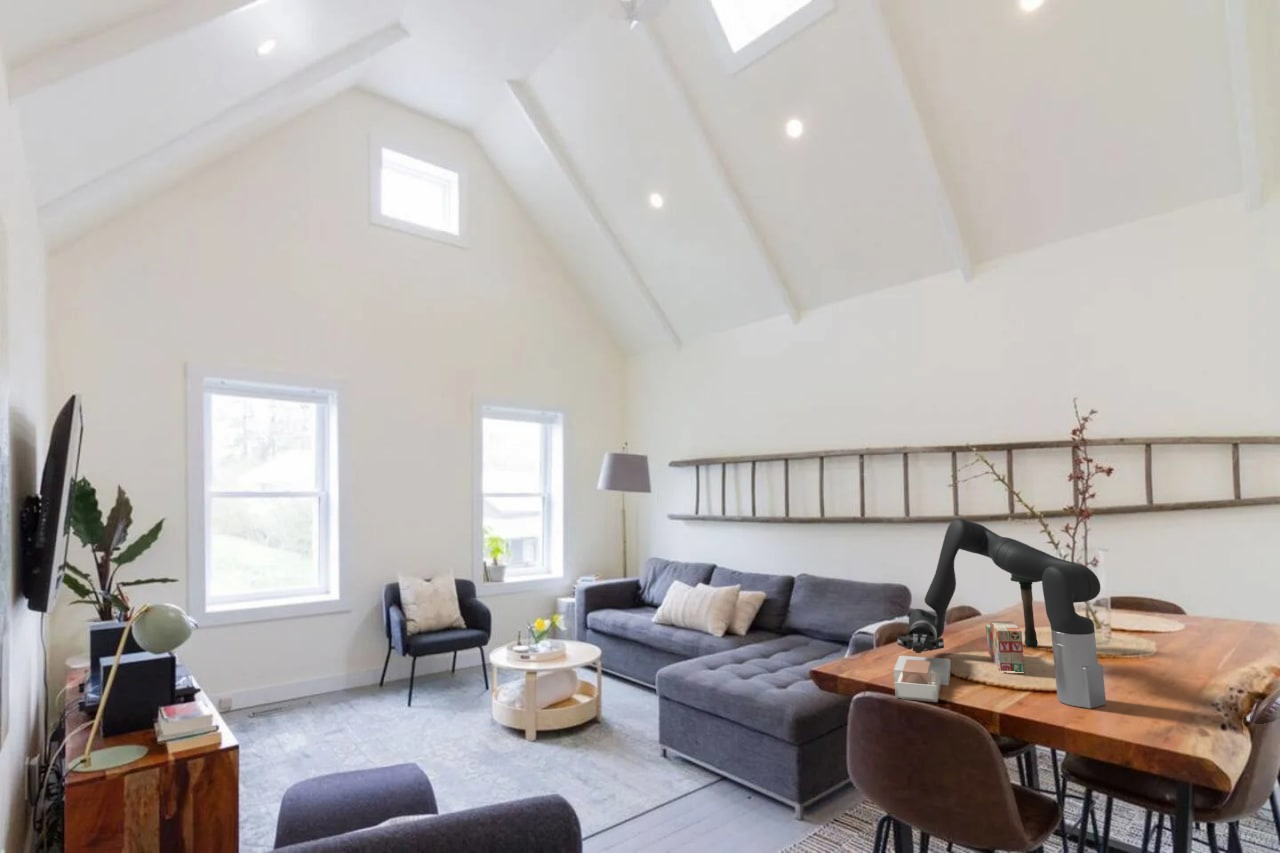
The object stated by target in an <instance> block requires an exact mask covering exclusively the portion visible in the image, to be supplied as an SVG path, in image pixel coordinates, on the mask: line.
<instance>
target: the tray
mask: <svg viewBox="0 0 1280 853" xmlns="http://www.w3.org/2000/svg"><path fill="white" fill-rule="evenodd" d="M941 686H942V685H941V682H940V675H937V676H936V681H935V682H932V685H929V684H917V683H905V682H903V672H901V673H900V676H899V679H898V681H894V693H895V694H894V695H895V699H898V698H901V699H900V700H911V701H919V702H920V701H922V702H929V703H931V702H932V703H938V702H939V697H940V692H939V691H941Z"/></svg>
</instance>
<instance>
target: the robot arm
mask: <svg viewBox="0 0 1280 853" xmlns="http://www.w3.org/2000/svg"><path fill="white" fill-rule="evenodd" d="M943 538H944V539H943V542H942V546H941V550H940V554H939V558H938V560H937V561H938V563H937V565H936V569H935V570H936V571H935V573H934V575H933V579H932V581H931V583H930V585H929V587H928V590H927V592H926V594H925V597H924V603H925V604H926V606H928V607H930V609H932V610H933V611H934V612H935V614H936V615H935V614H932V613H931V612H929V611H928V612H927V610H924V609H922V608H921V609H920V608H916V609H914V610H912V612H911V613H910V615H909V617H908V627H909V630H908V633H907V635H906V636H902V635H897V636H896V638H897V639H896V640H897V646H900V647H902V648H904V649H907V650H912V651H913V652H915V654H922V653H923V652H924V653H925V652H928V651H929V652H930V651H935V650H940V649H941V650H942V649H944V648H945V642H944V638H942V636H943V634H944V630H945V623H946V622H945V621H946V615H947V610H948V608H949V606H950V603H951V601H952V598H953V597H954V594H955V591H956V587H957V579H956V573H955V572H956V570H955V559H956V556H957V554H958V553H959V552H958V551H959V550H962V551H966V552H968V553H973V554H977V555H981V556H984V557H985V558H989V559H991V560H992V562H993V564H995V565H996V566H997V567H998V568H1000V569H1001V570H1002V571H1004V572H1007V573H1009V574H1010V575H1011V574H1013V575H1015V576H1018V577H1022V578H1026V579H1031V580H1037V581H1039V582H1041V585H1042V592H1043V598H1044V606H1045V612H1046V616H1047V618H1048V621H1049V624H1050V633H1051V643H1052V655H1053V663H1054V665H1053V666H1054V675H1055V677H1054V678H1055V686H1056V687H1055V688H1056V694H1057V696H1056V697H1057V700H1058V701H1059V702H1060V703H1063V704H1065V705H1068V706H1073V707H1078V708H1081V707H1082V708H1086V709H1094V708H1098V707H1101V706H1105V705H1107V699H1106V698H1107V697H1106V689H1105V680H1104V679H1105V678H1104V668H1103V665H1102V664H1101V663H1099V661H1098V653H1097V652H1098V651H1097V642H1096V641H1097V639H1096V632H1095V624H1094V623H1095V622H1094V621H1093V620H1092V619H1091V618H1089V617H1087V616H1082V615H1080V614H1078V613H1077V612H1076V608H1075V603H1076V604H1077V603H1083V602H1090V601H1092V600H1093V599H1095V598H1097V597H1098V596H1099V594H1100V592H1101V582H1100V580H1099V578H1098V576H1097V574H1095V573H1094V571H1092V569H1090V568H1089V567H1087V566H1085V565H1083V564H1081V563H1076V562H1073V561H1070V560H1066V559H1061V558H1058V557H1057V556H1054V555H1051V554H1050V553H1047V552H1045V551H1042V550H1040V549H1038V548H1035V547H1033V546H1031V545H1028V544H1026V543H1024V542H1022V541H1019V540H1016V539H1014V538H1011V537H1006V536H1001V535H999V534H997V533H995V532H993V531H992V530H990V529H989V528H987V527H986V526H984V525H982V524H980V523H976V522H973V521H970V520H967V519H963V518H955V519H953V520H952V521H951V522H950V523H949V525H948V526H947V529H946V531H945V535H944V537H943Z"/></svg>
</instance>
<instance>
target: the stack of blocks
mask: <svg viewBox="0 0 1280 853" xmlns="http://www.w3.org/2000/svg"><path fill="white" fill-rule="evenodd" d="M985 633H986V637H987V638H986V639H987V649H988V655H989V656H990V657H989V658H991V660H992V659H993V660H992V661H995V663H996V664H997V666H998V667H999V669H1000V670H1001V671H1015V672H1025V673H1026V670H1025V663H1024V661H1025V660H1024V646H1023V644H1024V643H1023V634H1022V630H1021V629H1020V627H1018V626H1017V624H1015V623H1014V621H1007V620H1006V621H1004V620H1003V621H1001V620H1000V621H999V620H998V621H995V620H994V621H989V624H985ZM995 663H994V664H995ZM996 664H995V665H996ZM997 666H996V667H997ZM999 669H998V670H999Z"/></svg>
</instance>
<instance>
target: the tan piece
mask: <svg viewBox="0 0 1280 853" xmlns="http://www.w3.org/2000/svg"><path fill="white" fill-rule="evenodd" d="M902 672H903V682H905V683H917V684H929V685H932V675H931V663H930V661H923V660H909V659H907V660H906V663H905V666H904V668H903V671H902Z"/></svg>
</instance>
